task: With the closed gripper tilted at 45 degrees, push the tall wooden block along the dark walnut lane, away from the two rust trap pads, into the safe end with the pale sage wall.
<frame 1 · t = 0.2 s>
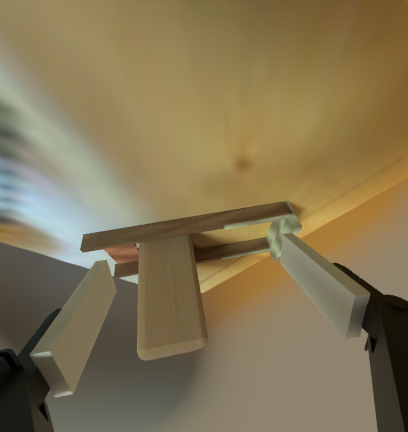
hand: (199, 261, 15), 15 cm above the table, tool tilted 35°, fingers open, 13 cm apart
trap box: (192, 237, 42), on the table
wooden block: (164, 241, 42), resting in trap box
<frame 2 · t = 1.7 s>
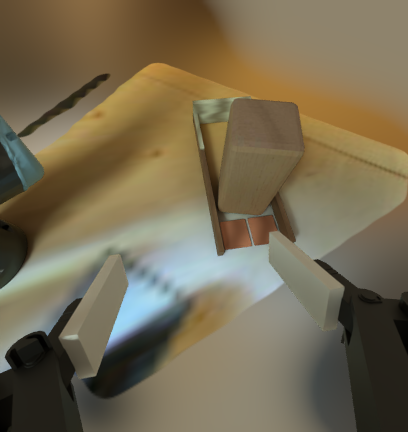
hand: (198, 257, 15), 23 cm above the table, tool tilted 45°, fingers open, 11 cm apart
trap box: (234, 174, 47), on the table
wooden block: (239, 196, 45), resting in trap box
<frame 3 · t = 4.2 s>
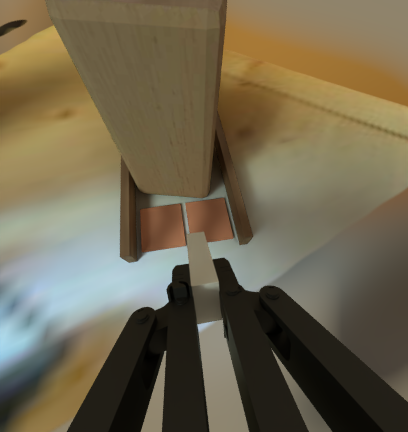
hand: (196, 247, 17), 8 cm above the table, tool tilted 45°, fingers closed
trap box: (174, 140, 32), on the table
wooden block: (178, 171, 30), resting in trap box
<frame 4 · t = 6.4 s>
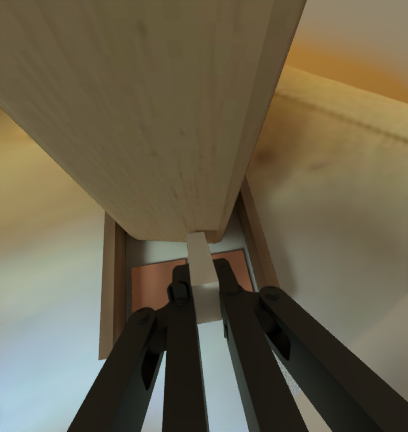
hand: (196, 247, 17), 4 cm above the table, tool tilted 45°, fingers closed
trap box: (176, 168, 26), on the table
wooden block: (181, 204, 24), resting in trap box, touching gripper
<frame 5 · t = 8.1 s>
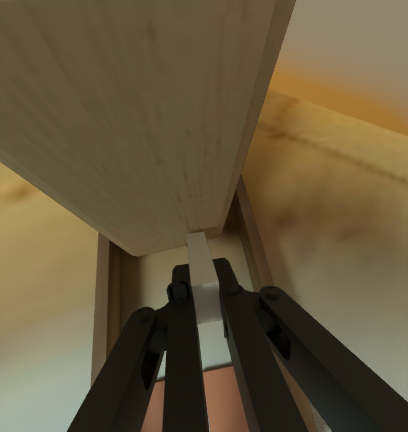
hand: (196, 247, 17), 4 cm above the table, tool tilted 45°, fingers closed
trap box: (181, 239, 21), on the table
wooden block: (171, 209, 23), resting in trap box, touching gripper
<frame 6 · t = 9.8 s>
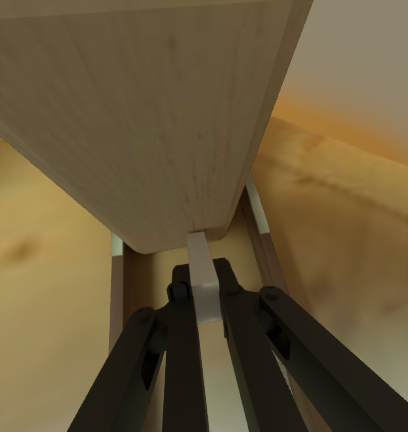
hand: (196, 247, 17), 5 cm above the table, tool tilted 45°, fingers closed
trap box: (202, 312, 19), on the table
wooden block: (177, 210, 24), resting in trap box, touching gripper
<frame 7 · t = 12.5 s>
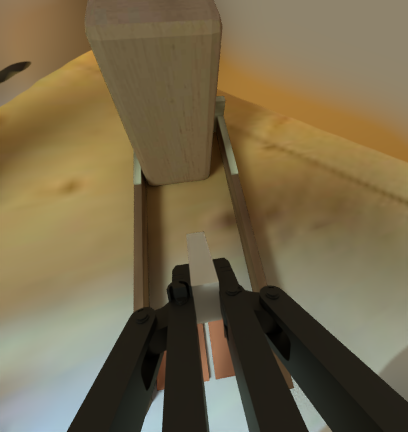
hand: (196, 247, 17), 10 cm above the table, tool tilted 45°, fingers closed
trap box: (192, 225, 28), on the table
wooden block: (176, 161, 34), resting in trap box
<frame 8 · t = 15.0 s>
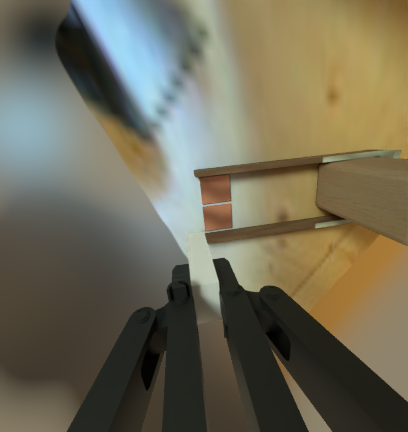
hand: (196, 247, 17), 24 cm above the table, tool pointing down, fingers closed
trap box: (283, 194, 43), on the table
wooden block: (335, 181, 44), resting in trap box
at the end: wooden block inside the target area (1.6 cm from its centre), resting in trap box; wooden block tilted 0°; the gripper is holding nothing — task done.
